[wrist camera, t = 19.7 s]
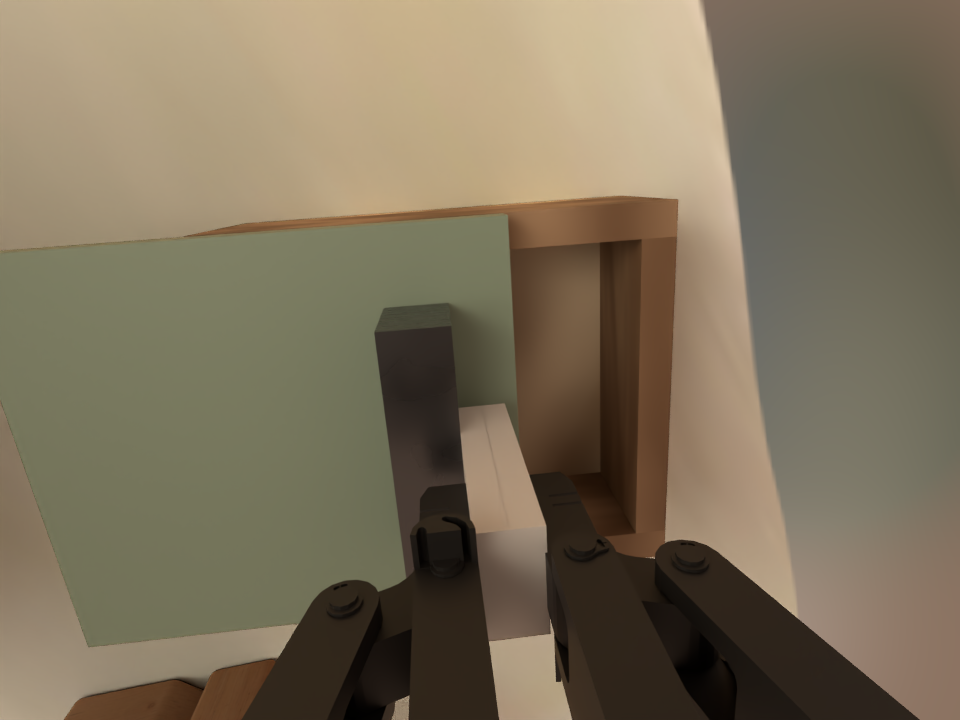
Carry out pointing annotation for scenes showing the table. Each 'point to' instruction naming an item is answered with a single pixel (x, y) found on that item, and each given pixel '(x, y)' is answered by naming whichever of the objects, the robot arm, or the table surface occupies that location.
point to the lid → (247, 409)
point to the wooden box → (585, 347)
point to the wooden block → (180, 698)
